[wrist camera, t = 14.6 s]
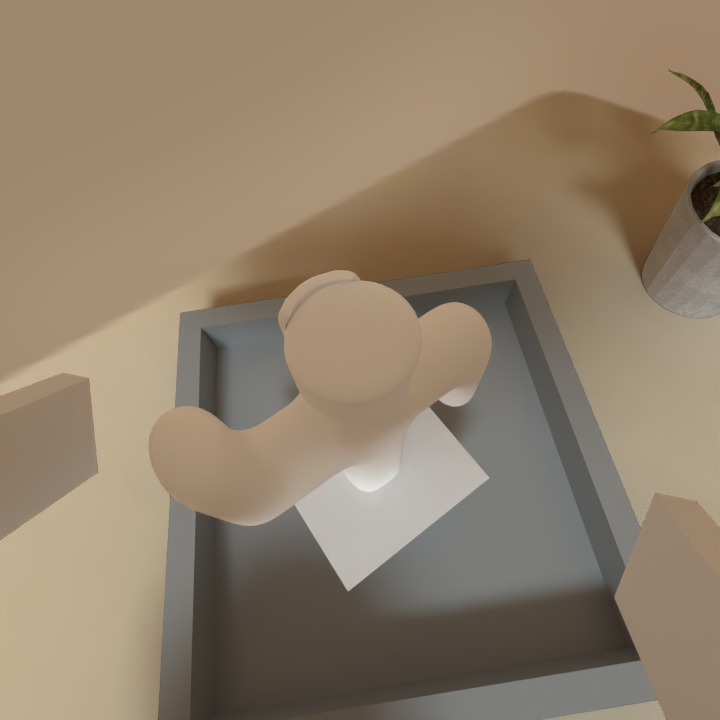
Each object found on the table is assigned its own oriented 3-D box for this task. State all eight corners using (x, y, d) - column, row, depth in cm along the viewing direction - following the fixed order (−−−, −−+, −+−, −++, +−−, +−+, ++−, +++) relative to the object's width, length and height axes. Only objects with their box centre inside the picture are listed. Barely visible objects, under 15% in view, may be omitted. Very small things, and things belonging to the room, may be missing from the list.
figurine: (490, 479, 22) (660, 322, 8) (334, 604, 19) (216, 671, 6) (401, 374, 24) (417, 129, 11) (257, 474, 22) (60, 323, 9)
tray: (515, 290, 27) (529, 259, 24) (660, 674, 18) (707, 691, 15) (201, 339, 27) (180, 312, 24) (189, 752, 18) (154, 783, 15)
